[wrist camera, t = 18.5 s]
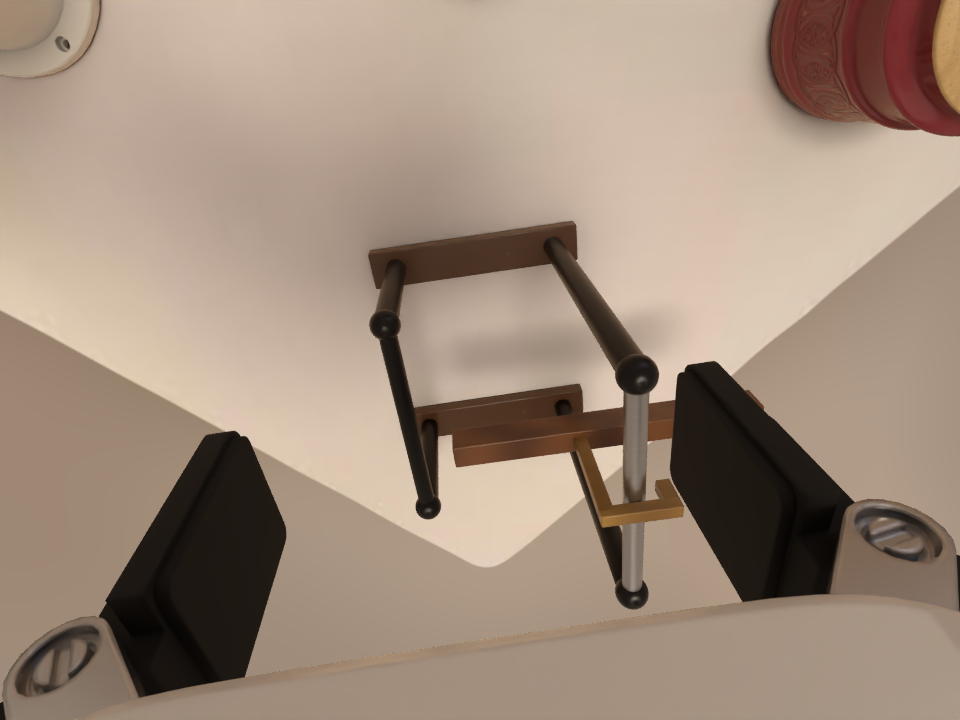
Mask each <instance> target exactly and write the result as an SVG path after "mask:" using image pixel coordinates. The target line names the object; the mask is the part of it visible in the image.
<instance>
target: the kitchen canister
mask: <svg viewBox="0 0 960 720" xmlns="http://www.w3.org/2000/svg"><path fill="white" fill-rule="evenodd" d="M771 59H772V65H773V70H774V74H775V77H776V79H777V82H778V84H779V86H780V88H781V89H782V91H783V92H784V94H785V95H786V96H787V97H788V99H789V100H790V101H791V102H793V103H794V104H795V105H796V106H798V107H799V108H801V109H803V110H804V111H806V112H808V113H809V114H811V115H813V116H816V117H818V118H822V119H826V120H832V121H838V122H855V121H860V122H868V123H876V124H880V125H882V126H885V127H888V128H892V129H897V130H923V131H926V132H929V133H932V134H936V135H941V136H960V0H780V2H779V4H778V7H777V11H776V14H775V18H774V22H773V28H772V35H771Z"/></svg>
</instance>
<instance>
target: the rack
mask: <svg viewBox="0 0 960 720" xmlns="http://www.w3.org/2000/svg"><path fill="white" fill-rule="evenodd" d="M368 256H369V260H370V264H371V269H372V273H373V277H374V281H375V286H376V289H381V291H380V295H379V299H378V303H377V307H376V311H375V313H374V314H373V315H372V317H371V319H370V323H369V327H370V331H371V332H372V334H373V335H374V336H375V337H376V338H378V339H379V341H380V345H381V349H382V353H383V357H384V361H385V365H386V369H387V373H388V377H389V381H390V385H391V389H392V394H393V398H394V402H395V406H396V410H397V414H398V418H399V422H400V426H401V430H402V434H403V438H404V442H405V446H406V450H407V454H408V458H409V462H410V466H411V470H412V474H413V478H414V482H415V486H416V490H417V494H418V500H417V502H416V511H417V513H418V515H419V516H420V517H421V518H423V519H433V518H435V517H436V516H437V515H438V514H439V512H440V509H441V502H440V500H439V498H438V436H445V435H452V431H453V430H460V429H467V428H475V427H482V426H489V425H497V424H504V423H511V422H519V421H526V420H533V419H540V418H548V417H555V416H562V415H570V414H577V413H583V397H582V389H581V386H580V384H575V385H569V386H562V387H555V388H548V389H541V390H534V391H527V392H521V393H514V394H507V395H500V396H493V397H486V398H480V399H473V400H466V401H459V402H452V403H445V404H439V405H432V406H425V407H418V408H414V407H413V402H412V398H411V393H410V389H409V385H408V380H407V376H406V371H405V367H404V363H403V358H402V354H401V349H400V345H399V341H398V336H397V335H398V333H399V332H400V329H401V321H400V319H399V315H400V308H401V301H402V295H403V288H404V285H408V284H415V283H422V282H429V281H435V280H442V279H449V278H456V277H463V276H470V275H477V274H483V273H490V272H497V271H504V270H511V269H518V268H525V267H531V266H538V265H545V264H552V265H553V267H554V268H555V270H556V272H557V273H558V275H559V277H560V279H561V280H562V282H563V284H564V285H565V287H566V289H567V290H568V292H569V294H570V296H571V297H572V299H573V301H574V302H575V304H576V306H577V307H578V309H579V311H580V313H581V314H582V316H583V318H584V319H585V321H586V323H587V324H588V326H589V328H590V330H591V331H592V333H593V335H594V336H595V338H596V340H597V342H598V343H599V345H600V347H601V348H602V350H603V352H604V353H605V355H606V357H607V359H608V360H609V362H610V364H611V365H612V367H613V369H614V370H615V378H616V381H617V384H618V385H619V387H620V388H621V389H622V390H623V391H624V406H623V504H627V503H634V502H641V501H645V494H646V466H647V440H648V414H649V392H650V391H651V390H653V388H654V387H655V386H656V384H657V382H658V378H659V371H658V368H657V365H656V364H655V362H654V361H653V360H652V359H651V358H649V357H648V356H646V355H644V354H643V353H642V352H641V350H640V349H639V347H638V346H637V345H636V343H635V342H634V341H633V339H632V338H631V336H630V335H629V334H628V332H627V331H626V329H625V328H624V327H623V325H622V324H621V323H620V321H619V320H618V318H617V317H616V316H615V314H614V313H613V311H612V310H611V309H610V307H609V306H608V305H607V303H606V302H605V300H604V299H603V298H602V296H601V295H600V293H599V292H598V291H597V289H596V288H595V286H594V285H593V284H592V282H591V281H590V280H589V278H588V277H587V275H586V274H585V273H584V271H583V270H582V268H581V267H580V266H579V264H578V263H577V262H576V260H577V233H576V224H575V223H574V222H573V221H570V222H563V223H556V224H549V225H543V226H536V227H529V228H522V229H515V230H508V231H501V232H495V233H488V234H481V235H474V236H467V237H460V238H453V239H446V240H440V241H433V242H426V243H419V244H412V245H405V246H398V247H392V248H385V249H378V250H371V251H370V252H369V255H368ZM570 454H571V457H572V460H573V463H574V466H575V469H576V472H577V475H578V477H579V480H580V483H581V486H582V489H583V492H584V495H585V498H586V500H587V503H588V506H589V509H590V512H591V515H592V518H593V521H594V524H595V526H596V529H597V532H598V535H599V538H600V541H601V544H602V547H603V550H604V552H605V555H606V558H607V561H608V564H609V567H610V570H611V572H612V576H613V578H614V581H615V584H616V587H615V593H616V597H617V599H618V601H619V602H620V603H621V604H622V605H623V606H624V607H626V608H628V609H639V608H641V607H643V606H644V605H645V604H646V602H647V599H648V588H647V586H646V584H645V582H644V581H643V580H642V573H643V547H644V522H641V523H634V524H626V525H622V526H623V527H622V532H621V529H620V527H619V526H611V527H604V528H603V527H602V526H601V524H600V521H599V518H598V515H597V512H596V509H595V506H594V503H593V500H592V497H591V494H590V491H589V488H588V485H587V482H586V479H585V476H584V473H583V470H582V467H581V464H580V461H579V458H578V456H577V453H576V451H574V452H570Z"/></svg>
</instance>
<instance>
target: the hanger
mask: <svg viewBox="0 0 960 720" xmlns="http://www.w3.org/2000/svg"><path fill="white" fill-rule="evenodd" d="M745 392H746V393H747V394H748V395H749V396H750V397H751V398H752V399H753V400H754V401H755V402H756V403H757V404H758V405H759V406H760V407H761V408H762V409H763V410H764V406H763V405H762V404H761V403H760V402H759V400H758V399H757V398H756V397H755V396H754V395H753V394H752V393H751V392H750V391H749V390H745ZM674 411H675V400H672V401H665V402H657V403H650V404H649V414H648V440H647V441H655V440H662V439H669V438H672V436H673V423H674ZM452 445H453V454H454V459H455V464H456V467H463V466H471V465H478V464H485V463H493V462H500V461H507V460H515V459H522V458H530V457H537V456H544V455H552V454H559V453H566V452H574V451H576V453H577V456H578V458H579V461H580V464H581V467H582V470H583V473H584V476H585V479H586V482H587V485H588V488H589V491H590V494H591V497H592V500H593V503H594V506H595V509H596V512H597V515H598V518H599V521H600V524H601V526H602V527H603V528H604V527H611V526H619V525H626V524H634V523H641V522H648V521H656V520H663V519H670V518H678V517H683V512H684V506H683V504H682V502H681V500H680V498H679V496H678V494H677V492H676V491H675V489H674V487H673V485H672V483H671V481H670V480H669V479H664V480H656V483H655V491H656V493H657V495H658V497H659V499H656V500H649V501H641V502H634V503H627V504H619V505H612V503H611V501H610V498H609V496H608V493H607V490H606V487H605V485H604V482H603V479H602V477H601V474H600V471H599V469H598V466H597V464H596V461H595V458H594V456H593V453H592V450H591V449H596V448H603V447H611V446H618V445H623V407H621V408H614V409H606V410H599V411H592V412H584V413H577V414H570V415H562V416H555V417H548V418H540V419H533V420H526V421H519V422H511V423H504V424H497V425H489V426H482V427H475V428H467V429H460V430H453V431H452Z"/></svg>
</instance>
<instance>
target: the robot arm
mask: <svg viewBox="0 0 960 720" xmlns="http://www.w3.org/2000/svg"><path fill="white" fill-rule="evenodd" d="M99 10H100V9H99V0H0V75H4V76H10V77H39V76H46V75H52V74H54V73H56V72H59V71H61V70H64V69H66V68H68V67H69V66H70V65H72V64H73V63H74V62H75V61H77V60H78V59H79V58H80V57H81V56H82V54H83V53H84V52H85V50H86V49H87V48H88V46H89V45H90V43H91V40H92V38H93V35H94V33H95V31H96V27H97V22H98V16H99ZM67 42H69V44H70V48H69V47H68V44H67ZM670 471H671V477H672V480H673V483H674V485H675V486H676V488H677V490H678V492H679V493H680V495H681V496H682V498H683V500H684V502H685V503H686V505H687V507H688V509H689V510H690V512H691V514H692V516H693V517H694V519H695V521H696V523H697V524H698V526H699V528H700V529H701V531H702V533H703V534H704V536H705V538H706V540H707V541H708V543H709V545H710V546H711V548H712V550H713V552H714V553H715V555H716V557H717V559H718V560H719V562H720V564H721V566H722V567H723V569H724V571H725V572H726V574H727V576H728V578H729V579H730V581H731V583H732V584H733V586H734V588H735V589H736V591H737V593H738V595H739V596H740V598H741V600H742V602H740V603H732V604H725V605H717V606H710V607H701V608H694V609H687V610H680V611H673V612H666V613H660V614H653V615H646V616H639V617H632V618H625V619H618V620H612V621H604V622H598V623H591V624H585V625H577V626H570V627H564V628H557V629H550V630H544V631H537V632H530V633H524V634H517V635H510V636H504V637H497V638H491V639H484V640H477V641H471V642H464V643H458V644H451V645H445V646H439V647H432V648H425V649H419V650H412V651H406V652H399V653H393V654H387V655H380V656H374V657H367V658H361V659H355V660H348V661H342V662H336V663H330V664H324V665H317V666H311V667H304V668H298V669H292V670H285V671H279V672H272V673H267V674H261V675H255V676H249V677H245V674H246V671H247V668H248V664H249V661H250V658H251V654H252V651H253V648H254V644H255V641H256V638H257V634H258V631H259V628H260V625H261V621H262V618H263V614H264V611H265V608H266V605H267V601H268V597H269V595H270V591H271V588H272V585H273V581H274V578H275V575H276V571H277V568H278V564H279V561H280V558H281V555H282V551H283V548H284V545H285V541H286V527H285V524H284V521H283V519H282V516H281V514H280V512H279V510H278V507H277V504H276V502H275V500H274V497H273V495H272V493H271V490H270V488H269V486H268V483H267V481H266V479H265V476H264V474H263V471H262V469H261V467H260V464H259V462H258V460H257V457H256V455H255V452H254V450H253V448H252V445H251V443H250V441H249V439H248V438H247V437H246V436H240V435H239V433H237V432H236V431H229V432H222V433H215V434H209V435H206V436H205V437H204V438H203V440H202V441H201V443H200V445H199V446H198V448H197V450H196V451H195V453H194V455H193V456H192V458H191V460H190V461H189V463H188V465H187V466H186V468H185V470H184V471H183V473H182V474H181V476H180V478H179V479H178V481H177V483H176V485H175V486H174V488H173V489H172V491H171V493H170V494H169V496H168V498H167V499H166V501H165V503H164V504H163V506H162V508H161V509H160V511H159V513H158V514H157V516H156V518H155V519H154V521H153V523H152V524H151V526H150V527H149V529H148V531H147V532H146V534H145V536H144V537H143V539H142V541H141V542H140V544H139V546H138V547H137V549H136V551H135V553H134V554H133V556H132V557H131V559H130V561H129V562H128V564H127V566H126V567H125V569H124V571H123V572H122V574H121V576H120V577H119V579H118V581H117V582H116V584H115V585H114V587H113V589H112V590H111V592H110V594H109V595H108V597H107V599H106V602H107V604H106V605H105V607H104V609H103V610H102V612H101V614H100V615H99V617H96V616H89V617H80V618H77V619H74V620H71V621H68V622H65V623H64V624H62V625H60V626H58V627H56V628H54V629H52V630H50V631H49V632H47V633H46V634H45V635H43V636H42V637H40V638H39V639H38V640H36V641H35V642H34V643H33V644H32V645H31V646H30V647H29V648H28V649H26V650H25V651H24V652H23V653H22V654H21V656H20V657H19V658H18V659H17V660H16V662H15V663H14V664H13V666H12V667H11V668H10V670H9V672H8V674H7V677H6V679H5V680H4V683H3V692H2V697H3V702H1V703H0V720H960V556H959V555H956V548H955V545H954V542H953V539H952V538H951V536H950V535H949V534H948V532H947V531H946V530H945V528H943V527H942V526H941V525H940V524H939V523H937V522H936V521H935V520H933V519H932V518H931V517H929V516H927V515H925V514H924V513H922V512H920V511H918V510H917V509H914V508H912V507H909V506H906V505H903V504H901V503H897V502H892V501H887V500H879V499H876V500H875V499H867V500H862V501H858V502H854V501H853V500H852V499H851V498H850V497H849V496H848V495H847V494H846V493H845V492H844V491H843V490H842V489H841V488H840V487H839V486H838V485H837V484H836V483H835V482H834V481H833V480H832V479H831V477H830V476H829V475H828V474H827V473H826V472H825V471H824V470H823V469H822V468H821V467H820V466H819V465H818V464H817V463H816V462H815V461H814V460H813V459H812V458H811V457H810V456H809V455H808V454H807V453H806V452H805V451H804V450H803V449H802V448H801V446H800V445H799V444H797V442H796V441H794V439H793V438H792V437H791V436H790V435H789V434H788V433H787V432H786V431H785V430H784V429H783V428H782V427H781V426H780V425H779V424H778V423H777V422H776V421H775V420H774V419H773V418H771V417H770V416H768V414H767V413H766V412H765V411H764V410H763V409H762V408H761V407H760V406H759V405H758V404H757V403H756V402H755V401H754V400H753V399H752V398H751V397H750V396H749V395H748V394H747V393H746V392H745V391H744V390H743V388H742V387H741V386H740V385H739V384H737V382H736V381H735V380H734V379H733V378H732V377H731V376H730V375H729V374H728V373H727V372H726V371H725V370H724V369H723V368H722V367H721V366H720V365H719V364H718V363H717V362H715V361H711V362H704V363H697V364H691V365H688V366H686V368H685V372H682V373H679V374H678V377H677V386H676V398H675V411H674V423H673V436H672V448H671V462H670Z"/></svg>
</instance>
